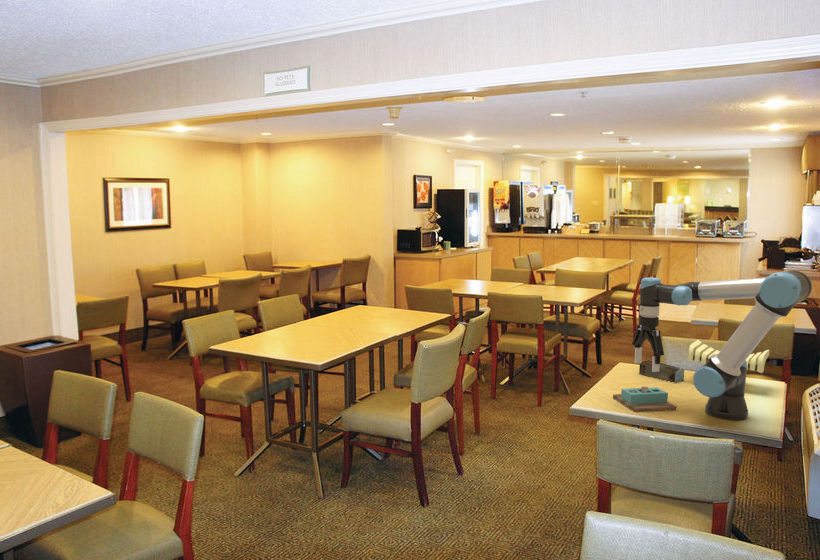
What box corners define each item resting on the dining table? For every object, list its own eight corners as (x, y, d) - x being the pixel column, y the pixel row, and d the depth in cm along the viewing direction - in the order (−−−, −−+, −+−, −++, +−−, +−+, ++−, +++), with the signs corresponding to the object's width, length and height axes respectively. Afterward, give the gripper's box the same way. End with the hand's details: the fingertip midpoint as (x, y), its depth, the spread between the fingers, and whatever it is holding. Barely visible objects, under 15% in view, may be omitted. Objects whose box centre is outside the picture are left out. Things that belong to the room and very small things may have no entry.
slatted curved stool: (686, 383, 292) (688, 345, 290) (695, 376, 305) (697, 339, 302) (759, 396, 274) (763, 356, 272) (766, 388, 287) (769, 349, 284)
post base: (676, 410, 255) (677, 393, 254) (634, 412, 252) (635, 394, 251) (652, 396, 273) (653, 380, 272) (612, 398, 270) (613, 381, 269)
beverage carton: (674, 384, 292) (675, 370, 291) (637, 374, 307) (638, 361, 306) (684, 381, 297) (685, 367, 296) (647, 372, 312) (648, 359, 311)
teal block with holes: (656, 396, 267) (657, 387, 267) (667, 402, 260) (667, 393, 259) (621, 398, 265) (621, 388, 264) (630, 404, 257) (631, 394, 256)
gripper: (625, 311, 269) (622, 360, 272) (657, 321, 245) (654, 375, 247) (641, 310, 271) (639, 359, 273) (675, 321, 246) (672, 374, 249)
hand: (646, 367), depth 260 cm, fingers open, 13 cm apart
